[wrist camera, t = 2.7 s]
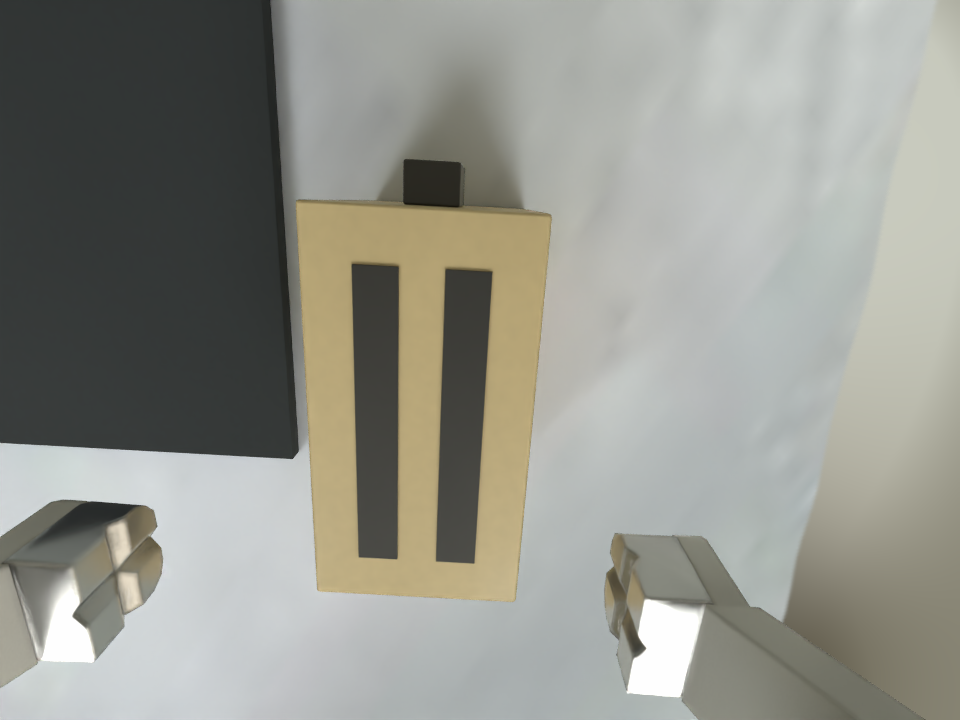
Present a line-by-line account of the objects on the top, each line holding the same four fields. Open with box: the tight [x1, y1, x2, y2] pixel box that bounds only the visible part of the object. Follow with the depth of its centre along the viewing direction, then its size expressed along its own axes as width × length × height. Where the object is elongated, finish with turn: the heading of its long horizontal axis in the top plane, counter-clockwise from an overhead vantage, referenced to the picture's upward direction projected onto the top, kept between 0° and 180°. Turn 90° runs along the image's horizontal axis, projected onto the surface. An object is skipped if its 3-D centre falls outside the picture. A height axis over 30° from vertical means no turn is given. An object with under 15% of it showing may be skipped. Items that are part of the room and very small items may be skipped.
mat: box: [0, 0, 299, 459], centre depth 21 cm, size 20×14×1 cm
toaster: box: [296, 159, 552, 602], centre depth 18 cm, size 13×6×9 cm, turn 177°
